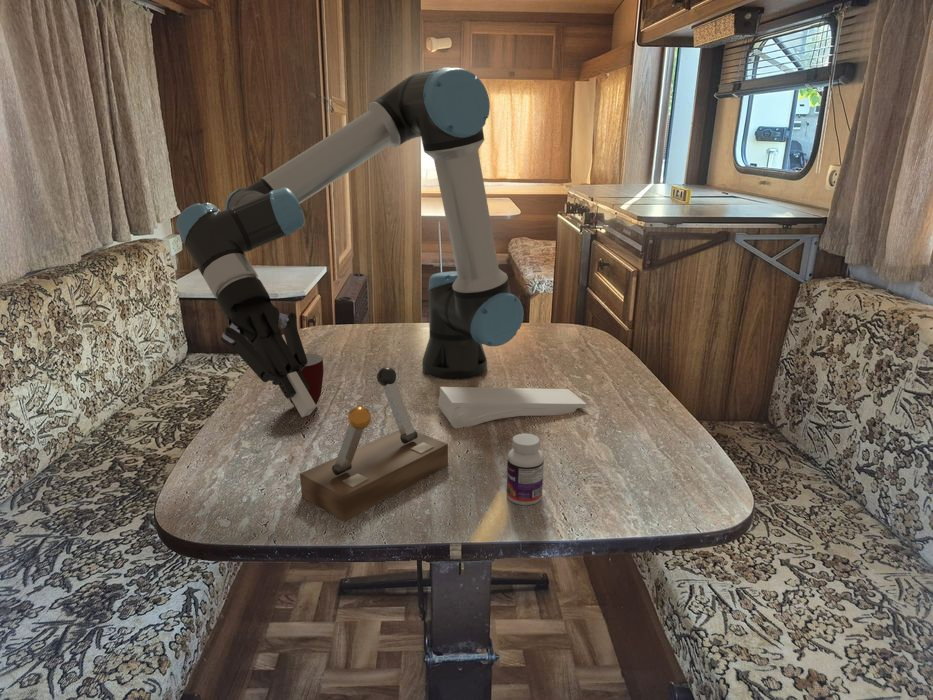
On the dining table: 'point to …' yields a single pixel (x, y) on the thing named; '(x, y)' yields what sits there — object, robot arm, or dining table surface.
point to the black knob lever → (396, 404)
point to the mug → (313, 376)
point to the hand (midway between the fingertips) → (309, 411)
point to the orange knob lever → (351, 439)
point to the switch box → (373, 474)
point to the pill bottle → (525, 470)
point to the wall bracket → (503, 403)
